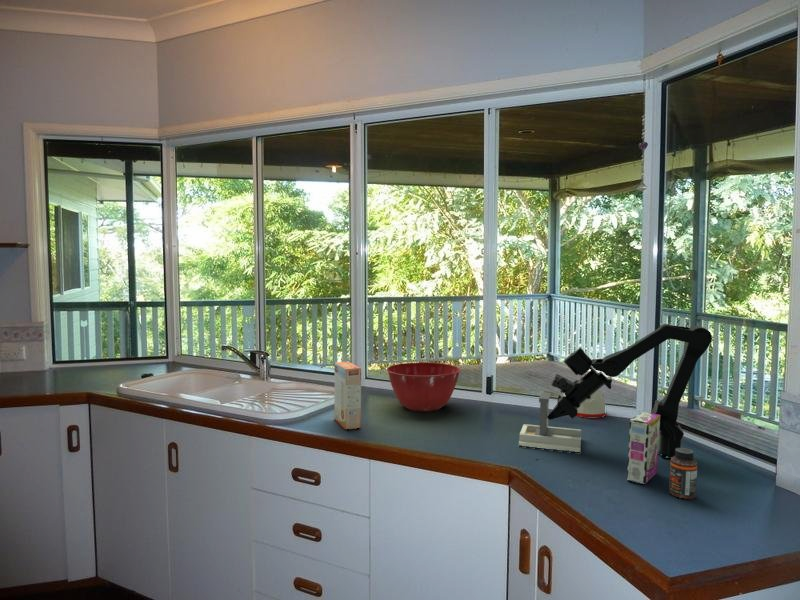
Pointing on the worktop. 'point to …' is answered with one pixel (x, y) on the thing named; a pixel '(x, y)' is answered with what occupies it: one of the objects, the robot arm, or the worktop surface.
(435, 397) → the mixing bowl
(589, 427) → the worktop surface
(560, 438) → the tray
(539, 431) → the slide lever
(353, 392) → the cracker box
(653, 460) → the candy bar box
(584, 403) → the kitchen timer
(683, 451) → the supplement bottle
